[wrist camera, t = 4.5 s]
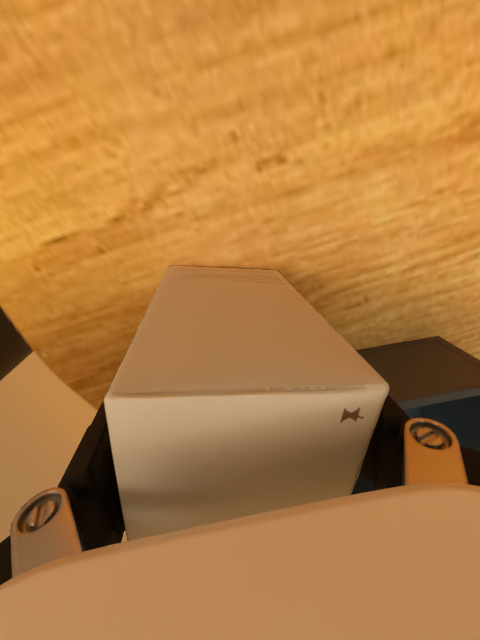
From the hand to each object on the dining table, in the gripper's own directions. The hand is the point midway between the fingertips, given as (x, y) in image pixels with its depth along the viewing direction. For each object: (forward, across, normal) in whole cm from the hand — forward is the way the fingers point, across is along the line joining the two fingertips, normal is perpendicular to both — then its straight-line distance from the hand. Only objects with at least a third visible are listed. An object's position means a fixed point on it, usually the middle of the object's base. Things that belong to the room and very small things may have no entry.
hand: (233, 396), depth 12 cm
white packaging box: (+9, 0, 0) cm, 9 cm away
